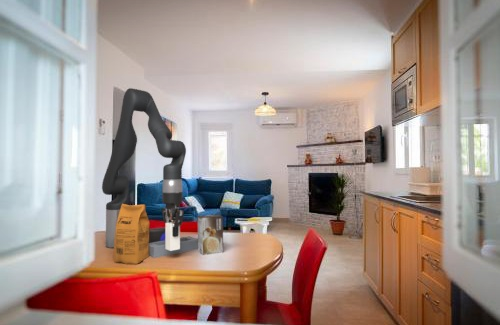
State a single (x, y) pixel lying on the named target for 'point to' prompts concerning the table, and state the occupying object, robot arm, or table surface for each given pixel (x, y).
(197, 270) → the table surface
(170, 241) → the plug
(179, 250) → the block
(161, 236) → the dark computer mouse
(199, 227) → the coffee box
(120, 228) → the coffee package
